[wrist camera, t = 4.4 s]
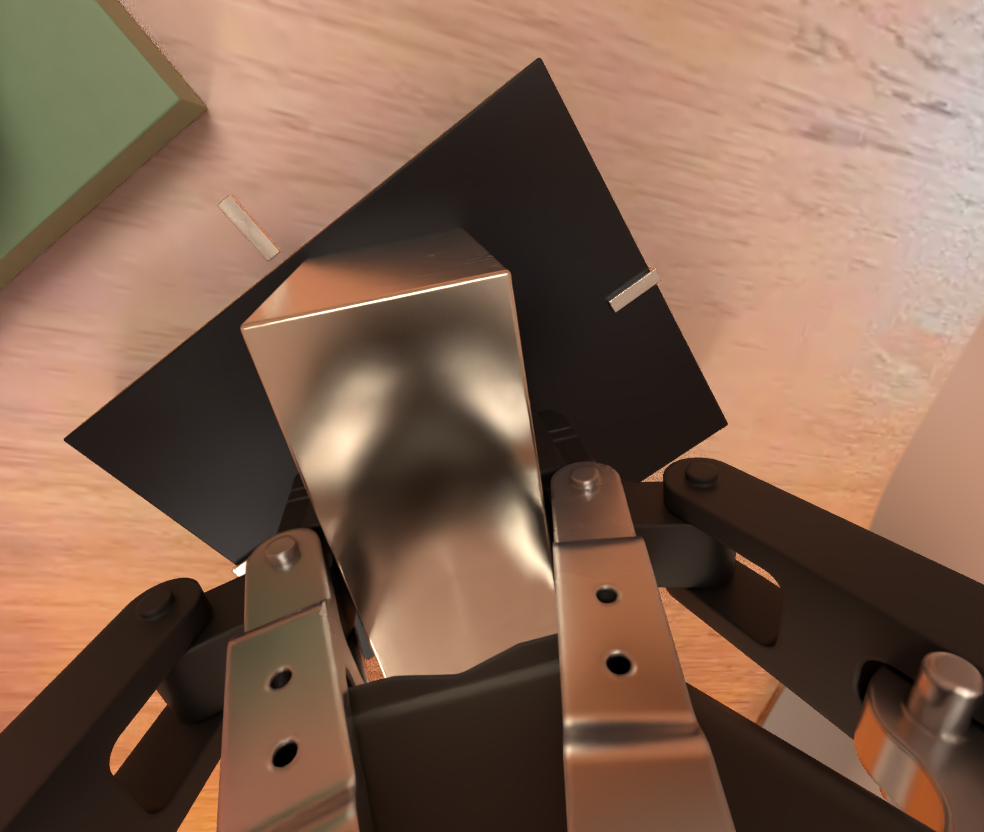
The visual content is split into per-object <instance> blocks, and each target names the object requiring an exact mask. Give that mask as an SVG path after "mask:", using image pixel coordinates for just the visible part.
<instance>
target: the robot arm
mask: <svg viewBox="0 0 984 832" xmlns="http://www.w3.org/2000/svg"><path fill="white" fill-rule="evenodd" d="M530 406H531V413H532V420H533V427H534V433H535V440H536V447H537V454H538V461H539V467H540V474H541V481H542V488H543V494H544V501H545V508H546V515H547V522H548V528H549V535H550V542H551V549H552V556H553V562H554V579H555V596H556V612H557V629H558V633H556V634H552V635H548V636H544V637H540V638H537V639H533V640H529V641H525V642H521V643H518V644H516V645H514V646H512V647H510V648H508V649H507V650H505V651H503V652H501V653H499V654H497V655H495V656H493V657H491V658H489V659H487V660H485V661H484V662H482V663H480V664H478V665H476V666H474V667H472V668H470V669H468V670H466V671H464V672H462V673H458V674H444V675H397V676H391V677H388V678H384V679H380V680H376V681H372V682H370V680H369V675H368V671H367V667H366V663H365V658H364V654H363V650H362V646H361V642H360V637H359V634H358V631H357V629H356V626H355V624H354V623H355V614H356V610H355V607H354V605H353V602H352V600H351V598H350V595H349V593H348V590H347V588H346V585H345V583H344V581H343V578H342V576H341V573H340V571H339V568H338V566H337V564H336V561H335V559H334V556H333V554H332V551H331V549H330V547H329V544H328V542H327V539H326V537H325V534H324V532H323V530H322V527H321V525H320V522H319V520H318V517H317V515H316V513H315V510H314V508H313V505H312V503H311V500H310V498H309V496H308V493H307V491H306V488H305V486H304V483H303V481H302V479H301V476H300V474H299V473H298V474H297V475H296V476H295V478H294V481H293V484H292V488H291V492H290V494H289V497H288V500H287V501H288V503H287V504H286V506H285V510H284V513H283V516H282V519H281V522H280V525H279V528H278V531H277V534H276V535H274V536H272V537H270V538H268V539H267V540H265V541H264V542H262V543H261V544H260V545H259V546H257V547H256V548H255V549H254V550H253V552H252V553H251V554H250V556H249V557H248V559H247V562H246V566H245V574H243V575H242V576H240V577H238V578H236V579H234V580H232V581H229V582H227V583H225V584H223V585H220V586H218V587H216V588H214V589H212V590H209V591H207V592H205V593H204V592H203V590H202V588H201V586H200V585H199V583H198V582H197V581H196V580H194V579H191V578H177V579H172V580H169V581H166V582H163V583H160V584H158V585H156V586H154V587H152V588H150V589H148V590H147V591H145V592H144V593H142V594H141V595H139V596H138V597H136V598H135V599H134V600H133V601H131V602H130V603H129V604H128V605H127V606H126V607H125V608H124V609H123V610H122V611H121V612H120V613H119V614H118V615H117V616H116V617H115V618H114V619H113V620H112V621H111V622H110V623H109V624H108V625H107V626H106V627H105V628H104V629H103V630H102V631H101V632H100V633H99V634H98V635H97V636H96V637H95V638H94V639H93V640H92V641H91V642H90V643H89V645H88V646H87V647H86V648H85V649H84V650H83V651H82V652H81V653H80V654H79V655H78V656H77V657H76V658H75V659H74V660H73V661H72V662H71V663H70V664H69V665H68V666H67V667H66V668H65V669H64V670H63V671H62V672H61V673H60V674H59V675H58V676H57V677H56V678H55V679H54V680H53V681H52V682H51V683H50V684H49V685H48V686H47V687H46V688H45V689H44V690H43V691H42V692H41V693H40V694H39V695H38V696H37V697H36V698H35V699H34V700H33V701H32V702H31V703H30V704H29V705H28V706H27V707H26V708H25V709H24V710H23V711H22V712H21V713H20V714H19V715H18V716H17V717H16V718H15V719H14V720H13V721H12V722H11V723H10V724H9V725H8V726H7V727H6V728H5V729H4V730H3V731H2V733H1V734H0V832H177V830H178V828H179V827H180V825H181V823H182V822H183V820H184V818H185V817H186V815H187V813H188V812H189V810H190V808H191V807H192V805H193V803H194V802H195V800H196V798H197V797H198V795H199V793H200V792H201V790H202V788H203V787H204V785H205V783H206V782H207V780H208V778H209V776H210V775H211V773H212V771H213V770H214V768H215V766H216V765H217V763H218V761H219V760H220V758H221V763H220V780H219V797H218V814H217V831H216V832H984V585H983V584H981V583H979V582H976V581H975V580H973V579H971V578H969V577H966V576H964V575H962V574H960V573H958V572H956V571H954V570H951V569H949V568H947V567H945V566H942V565H941V564H938V563H937V562H934V561H932V560H930V559H928V558H926V557H924V556H922V555H920V554H917V553H915V552H913V551H911V550H909V549H907V548H905V547H902V546H900V545H898V544H896V543H894V542H892V541H890V540H888V539H886V538H883V537H881V536H879V535H877V534H875V533H873V532H871V531H869V530H866V529H864V528H862V527H860V526H858V525H856V524H854V523H852V522H849V521H847V520H845V519H843V518H841V517H839V516H837V515H835V514H832V513H830V512H828V511H826V510H824V509H822V508H820V507H818V506H815V505H813V504H811V503H809V502H807V501H805V500H803V499H800V498H798V497H796V496H794V495H792V494H790V493H788V492H786V491H783V490H781V489H779V488H777V487H775V486H773V485H771V484H769V483H766V482H764V481H762V480H760V479H758V478H756V477H754V476H752V475H749V474H747V473H745V472H743V471H741V470H739V469H737V468H735V467H732V466H730V465H728V464H726V463H724V462H721V461H718V460H714V459H709V458H687V459H682V460H679V461H676V462H674V463H672V464H671V465H669V466H668V467H667V468H666V469H665V471H664V474H663V482H630V481H624V480H621V479H620V476H619V474H618V473H617V471H616V470H614V469H613V468H612V467H610V466H608V465H606V464H603V463H599V462H596V461H595V460H594V458H593V457H592V455H591V454H590V452H589V451H588V450H587V448H586V447H585V445H584V444H583V442H582V441H581V439H580V438H579V437H578V436H577V433H576V432H575V430H574V429H573V428H572V426H571V425H570V423H569V422H568V420H567V419H566V417H565V416H564V415H562V414H560V413H558V412H556V411H554V410H552V409H549V410H544V411H540V412H536V410H535V408H534V406H533V405H532V403H531V401H530ZM736 552H737V553H738V554H740V555H741V556H743V557H745V558H746V559H748V560H749V561H751V562H753V563H754V564H756V565H758V566H759V567H761V568H762V569H764V570H765V571H767V572H768V573H769V574H770V575H771V576H772V577H773V578H774V579H775V580H776V581H777V583H778V584H779V586H780V587H778V586H777V585H775V584H773V583H772V582H770V581H769V580H767V579H766V578H764V577H762V576H761V575H759V574H758V573H756V572H755V571H753V570H751V569H750V568H748V567H747V566H745V565H743V564H742V563H740V562H739V561H737V560H736V559H735V557H736ZM658 587H666V589H667V591H668V592H669V593H670V595H671V596H672V597H674V598H675V599H676V600H677V601H678V602H680V603H681V604H682V605H684V606H685V607H686V608H687V609H689V610H690V611H691V612H692V613H694V614H695V615H696V616H697V617H699V618H700V619H701V620H703V621H704V622H705V623H706V624H708V625H709V626H710V627H711V628H713V629H714V630H715V631H716V632H718V633H719V634H720V635H721V636H723V637H724V638H725V639H727V640H728V641H729V642H730V643H732V644H733V645H734V646H735V647H737V648H738V649H739V650H740V651H742V652H743V653H744V654H746V655H747V656H748V657H749V658H751V659H752V660H753V661H754V662H756V663H757V664H758V665H759V666H761V667H762V668H763V669H765V670H766V671H767V672H768V673H770V674H771V675H772V676H773V677H775V678H776V679H777V680H778V681H780V682H781V683H782V684H783V685H785V686H786V687H787V688H789V689H790V690H791V691H792V692H794V693H795V694H796V695H798V696H799V697H800V698H801V699H802V700H804V701H805V702H806V703H808V704H809V705H810V706H811V707H813V708H814V709H815V710H816V711H818V712H819V713H820V714H822V715H823V716H824V717H825V718H827V719H828V720H829V721H831V722H832V723H833V724H834V725H836V726H837V727H838V728H839V729H840V730H842V731H843V732H844V733H845V734H847V735H848V736H849V737H851V738H852V739H853V740H854V743H855V748H856V752H857V755H858V757H859V760H860V762H861V764H862V766H863V767H864V769H865V770H866V772H867V773H868V775H869V776H870V777H871V778H872V779H873V781H874V782H875V783H876V784H877V785H878V786H879V788H880V792H881V794H882V795H883V797H884V799H885V800H886V801H887V802H886V801H885V800H883V799H881V798H880V797H878V796H876V795H875V794H873V793H871V792H870V791H868V790H866V789H865V788H863V787H861V786H860V785H858V784H856V783H854V782H853V781H851V780H849V779H848V778H846V777H844V776H843V775H841V774H839V773H838V772H836V771H834V770H833V769H831V768H829V767H827V766H826V765H824V764H823V763H821V762H819V761H817V760H816V759H814V758H812V757H811V756H809V755H807V754H806V753H804V752H802V751H801V750H799V749H797V748H795V747H794V746H792V745H791V744H789V743H787V742H786V741H784V740H782V739H781V738H779V737H777V736H776V735H774V734H772V733H771V732H769V731H767V730H765V729H764V728H762V727H760V726H759V725H757V724H755V723H754V722H752V721H750V720H749V719H747V718H745V717H744V716H742V715H740V714H739V713H737V712H735V711H734V710H732V709H730V708H729V707H727V706H725V705H724V704H722V703H720V702H719V701H717V700H715V699H713V698H712V697H710V696H708V695H707V694H705V693H703V692H702V691H700V690H698V689H697V688H695V687H693V686H692V685H690V684H688V683H687V682H685V679H684V676H683V672H682V669H681V665H680V662H679V658H678V655H677V651H676V648H675V645H674V641H673V638H672V634H671V631H670V627H669V624H668V621H667V617H666V614H665V610H664V607H663V603H662V600H661V596H660V593H659V590H658ZM155 690H157V691H158V693H159V694H160V695H161V697H162V698H163V699H164V701H165V702H166V703H167V706H166V707H165V708H164V710H163V711H162V712H161V714H160V715H159V716H158V718H157V719H156V720H155V722H154V723H153V724H152V726H151V727H150V728H149V730H148V731H147V732H146V734H145V735H144V736H143V738H142V739H141V740H140V742H139V743H138V744H137V746H136V747H135V748H134V750H133V751H132V752H131V754H130V755H129V756H128V758H127V759H126V760H125V762H124V763H123V764H122V766H121V767H120V768H119V770H118V771H117V772H116V774H115V775H114V776H113V775H112V773H111V771H110V766H109V762H110V755H111V752H112V749H113V747H114V744H115V743H116V741H117V739H118V738H119V736H120V735H121V733H122V732H123V731H124V730H125V728H126V727H127V726H128V725H129V723H130V722H131V721H132V720H133V718H134V717H135V716H136V714H137V713H138V712H139V711H140V709H141V708H142V707H143V706H144V704H145V703H146V702H147V700H148V699H149V698H150V697H151V695H152V694H153V693H154V692H155Z"/></svg>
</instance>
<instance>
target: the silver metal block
mask: <svg viewBox="0 0 984 832" xmlns="http://www.w3.org/2000/svg"><path fill="white" fill-rule="evenodd" d="M240 330H241V333H242V335H243V338H244V340H245V343H246V345H247V347H248V350H249V352H250V355H251V357H252V360H253V362H254V364H255V367H256V369H257V372H258V374H259V377H260V379H261V381H262V384H263V386H264V389H265V391H266V394H267V396H268V398H269V401H270V403H271V406H272V408H273V411H274V413H275V415H276V418H277V420H278V423H279V425H280V428H281V430H282V432H283V435H284V437H285V440H286V442H287V445H288V447H289V449H290V452H291V454H292V457H293V459H294V462H295V464H296V466H297V469H298V471H299V474H300V476H301V479H302V481H303V483H304V486H305V488H306V491H307V493H308V496H309V498H310V500H311V503H312V505H313V508H314V510H315V513H316V515H317V517H318V520H319V522H320V525H321V527H322V530H323V532H324V534H325V537H326V539H327V542H328V544H329V547H330V549H331V551H332V554H333V556H334V559H335V561H336V564H337V566H338V568H339V571H340V573H341V576H342V578H343V581H344V583H345V585H346V588H347V590H348V593H349V595H350V598H351V600H352V602H353V605H354V607H355V610H356V612H357V615H358V617H359V619H360V622H361V624H362V627H363V629H364V632H365V634H366V636H367V639H368V641H369V644H370V646H371V649H372V651H373V653H374V656H375V658H376V661H377V663H378V666H379V668H380V671H381V673H382V675H383V678H388V677H391V676H397V675H444V674H458V673H462V672H464V671H466V670H468V669H470V668H472V667H474V666H476V665H478V664H480V663H482V662H484V661H485V660H487V659H489V658H491V657H493V656H495V655H497V654H499V653H501V652H503V651H505V650H507V649H508V648H510V647H512V646H514V645H516V644H518V643H521V642H525V641H529V640H533V639H537V638H540V637H544V636H548V635H552V634H556V633H558V629H557V612H556V596H555V579H554V562H553V556H552V549H551V542H550V535H549V528H548V522H547V515H546V508H545V501H544V494H543V488H542V481H541V474H540V467H539V461H538V454H537V447H536V440H535V433H534V427H533V420H532V413H531V406H530V399H529V393H528V386H527V379H526V372H525V366H524V359H523V352H522V345H521V338H520V332H519V325H518V318H517V311H516V305H515V298H514V291H513V284H512V277H511V273H510V271H509V270H508V269H507V268H506V267H505V266H503V265H502V264H501V263H500V262H499V261H498V260H497V259H496V258H495V257H494V256H493V255H492V254H490V253H489V252H488V251H487V250H486V249H485V248H484V247H483V246H482V245H481V244H480V243H478V242H477V241H476V240H475V239H474V238H473V237H472V236H471V235H470V234H469V233H468V232H466V231H465V230H464V229H463V228H455V229H450V230H445V231H440V232H435V233H430V234H425V235H420V236H415V237H410V238H405V239H400V240H395V241H390V242H385V243H380V244H375V245H370V246H365V247H360V248H355V249H350V250H345V251H340V252H335V253H330V254H325V255H320V256H315V257H310V258H307V259H306V260H305V261H304V262H303V263H302V264H301V265H300V266H299V267H298V268H297V269H296V270H295V271H294V272H293V273H292V274H291V275H290V276H289V277H288V278H287V279H286V280H285V281H284V282H283V283H282V284H281V285H280V286H279V287H278V288H277V289H276V290H275V291H274V293H273V294H272V295H271V296H270V297H269V298H268V299H267V300H266V301H265V302H264V303H263V304H262V305H261V306H260V307H259V308H258V309H257V310H256V311H255V312H254V313H253V314H252V315H251V316H250V317H249V318H248V319H247V320H246V321H245V322H244V323H243V324H242V325H241V328H240Z"/></svg>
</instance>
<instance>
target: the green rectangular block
mask: <svg viewBox="0 0 984 832" xmlns="http://www.w3.org/2000/svg"><path fill="white" fill-rule="evenodd" d="M206 108H207V107H206V105H205V104H204V103H203V102H202V101H201V99H200V98H199V97H198V96H197V95H196V93H195V92H194V91H193V90H192V89H191V87H190V86H189V85H188V84H187V83H186V81H185V80H184V79H183V78H182V77H181V75H180V74H179V73H178V72H177V71H176V69H175V68H174V67H173V66H172V65H171V64H170V62H169V61H168V60H167V59H166V58H165V56H164V55H163V54H162V53H161V52H160V50H159V49H158V48H157V47H156V46H155V44H154V43H153V42H152V41H151V40H150V38H149V37H148V36H147V35H146V34H145V32H144V31H143V30H142V29H141V28H140V26H139V25H138V24H137V23H136V22H135V21H134V19H133V18H132V17H131V16H130V15H129V13H128V12H127V11H126V10H125V9H124V7H123V6H122V5H121V4H120V3H119V1H118V0H0V290H1V289H2V288H3V287H4V286H5V285H6V284H7V283H9V282H10V281H11V280H12V279H13V278H14V277H15V276H17V275H18V274H19V273H20V272H21V271H22V270H23V269H25V268H26V267H27V266H28V265H29V264H30V263H31V262H33V261H34V260H35V259H36V258H37V257H38V256H39V255H41V254H42V253H43V252H44V251H45V250H46V249H47V248H48V247H50V246H51V245H52V244H53V243H54V242H55V241H56V240H58V239H59V238H60V237H61V236H62V235H63V234H64V233H66V232H67V231H68V230H69V229H70V228H71V227H72V226H74V225H75V224H76V223H77V222H78V221H79V220H80V219H82V218H83V217H84V216H85V215H86V214H87V213H88V212H90V211H91V210H92V209H93V208H94V207H95V206H96V205H98V204H99V203H100V202H101V201H102V200H103V199H104V198H106V197H107V196H108V195H109V194H110V193H111V192H112V191H114V190H115V189H116V188H117V187H118V186H119V185H120V184H122V183H123V182H124V181H125V180H126V179H127V178H128V177H130V176H131V175H132V174H133V173H134V172H135V171H136V170H138V169H139V168H140V167H141V166H142V165H143V164H144V163H146V162H147V161H148V160H149V159H150V158H151V157H152V156H154V155H155V154H156V153H157V152H158V151H159V150H160V149H162V148H163V147H164V146H165V145H166V144H167V143H168V142H170V141H171V140H172V139H173V138H174V137H175V136H176V135H178V134H179V133H180V132H181V131H182V130H183V129H184V128H186V127H187V126H188V125H189V124H190V123H191V122H192V121H194V120H195V119H196V118H197V117H198V116H199V115H200V114H202V113H203V112H204V111H205V110H206Z"/></svg>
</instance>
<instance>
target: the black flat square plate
mask: <svg viewBox="0 0 984 832" xmlns="http://www.w3.org/2000/svg"><path fill="white" fill-rule="evenodd" d="M217 206H218V207H219V208H220V209H221V210H222V211H223V213H224V214H225V215H226V216H227V217H228V218H229V219H230V220H231V221H232V222H233V224H234V225H235V226H236V227H237V228H238V229H239V230H240V231H241V232H242V233H243V235H244V236H245V237H246V238H247V239H248V240H249V241H250V242H251V243H252V244H253V246H254V247H255V248H256V249H257V250H258V251H259V252H260V253H261V254H262V255H263V257H264V258H265V259H266V260H267V261H269V260H271V259H272V258H273V257H274V256H276V255H277V254H278V253H279V252H281V250H280V248H279V247H278V246H277V245H276V244H275V243H274V242H273V240H272V239H271V238H270V237H269V236H268V235H267V234H266V233H265V231H264V230H263V229H262V228H261V227H260V226H259V225H258V224H257V222H256V221H255V220H254V219H253V218H252V217H251V216H250V214H249V213H248V212H247V211H246V210H245V209H244V208H243V207H242V205H241V204H240V203H239V202H238V201H237V200H236V199H235V198H234V196H233V195H229V196H227V197H226V198H225V199H224V200H223V201H221V202H220V203H219V204H218V205H217ZM455 228H463V229H464V230H465V231H466V232H468V233H469V234H470V235H471V236H472V237H473V238H474V239H475V240H476V241H477V242H478V243H480V244H481V245H482V246H483V247H484V248H485V249H486V250H487V251H488V252H489V253H490V254H492V255H493V256H494V257H495V258H496V259H497V260H498V261H499V262H500V263H501V264H502V265H503V266H505V267H506V268H507V269H508V270H509V271H510V273H511V277H512V284H513V291H514V298H515V305H516V311H517V318H518V325H519V332H520V338H521V345H522V352H523V359H524V366H525V372H526V379H527V386H528V393H529V399H530V401H531V403H532V405H533V406H534V408H535V410H536V412H540V411H544V410H549V409H552V410H554V411H556V412H558V413H560V414H562V415H564V416H565V417H566V419H567V420H568V422H569V423H570V425H571V426H572V428H573V429H574V430H575V432H576V433H577V436H578V437H579V438H580V439H581V441H582V442H583V444H584V445H585V447H586V448H587V450H588V451H589V452H590V454H591V455H592V457H593V458H594V460H595V461H596V462H599V463H603V464H606V465H608V466H610V467H612V468H613V469H614V470H616V471H617V473H618V474H619V476H620V479H621V480H624V481H630V482H641V481H643V480H644V479H646V478H647V477H649V476H650V475H652V474H653V473H655V472H656V471H658V470H659V469H661V468H662V467H664V466H666V465H667V464H669V463H670V462H672V461H673V460H675V459H676V458H678V457H679V456H681V455H682V454H684V453H685V452H687V451H688V450H690V449H692V448H693V447H695V446H696V445H698V444H699V443H701V442H702V441H704V440H705V439H707V438H708V437H710V436H711V435H713V434H715V433H716V432H718V431H719V430H721V429H722V428H724V427H725V426H727V425H728V423H727V421H726V419H725V417H724V415H723V413H722V411H721V409H720V407H719V405H718V403H717V401H716V399H715V397H714V395H713V393H712V391H711V389H710V387H709V385H708V383H707V382H706V380H705V378H704V376H703V374H702V372H701V370H700V368H699V366H698V364H697V362H696V360H695V358H694V356H693V354H692V352H691V350H690V348H689V346H688V344H687V342H686V340H685V339H684V337H683V335H682V333H681V331H680V329H679V327H678V325H677V323H676V321H675V319H674V317H673V315H672V313H671V311H670V309H669V307H668V305H667V303H666V301H665V299H664V298H663V296H662V294H661V292H660V290H659V288H658V286H657V283H658V282H659V281H661V277H660V275H659V274H658V272H657V270H656V268H652V269H650V270H649V268H648V266H647V264H646V262H645V260H644V258H643V256H642V255H641V253H640V251H639V249H638V247H637V245H636V243H635V241H634V239H633V237H632V235H631V233H630V231H629V229H628V227H627V225H626V223H625V221H624V219H623V217H622V215H621V214H620V212H619V210H618V208H617V206H616V204H615V202H614V200H613V198H612V196H611V194H610V192H609V190H608V188H607V186H606V184H605V182H604V180H603V178H602V176H601V174H600V172H599V171H598V169H597V167H596V165H595V163H594V161H593V159H592V157H591V155H590V153H589V151H588V149H587V147H586V145H585V143H584V141H583V139H582V137H581V135H580V133H579V131H578V130H577V128H576V126H575V124H574V122H573V120H572V118H571V116H570V114H569V112H568V110H567V108H566V106H565V104H564V102H563V100H562V98H561V96H560V94H559V92H558V90H557V88H556V87H555V85H554V83H553V81H552V79H551V77H550V75H549V73H548V71H547V69H546V67H545V65H544V63H543V61H542V59H541V58H537V59H536V60H535V61H533V62H532V63H531V64H529V65H528V66H527V67H526V68H524V69H523V70H522V71H520V72H519V73H518V74H517V75H515V76H514V77H513V78H511V79H510V80H509V81H508V82H506V83H505V84H504V85H503V86H501V87H500V88H499V89H498V90H497V91H495V92H494V93H493V94H492V95H490V96H489V97H488V98H487V99H485V100H484V101H483V102H482V103H480V104H479V105H478V106H477V107H475V108H474V109H473V110H472V111H470V112H469V113H468V114H467V115H465V116H464V117H463V118H462V119H460V120H459V121H458V122H457V123H455V124H454V125H453V126H452V127H450V128H449V129H448V130H447V131H445V132H444V133H443V134H442V135H440V136H439V137H438V138H437V139H435V140H434V141H433V142H432V143H430V144H429V145H428V146H427V147H426V148H424V149H423V150H422V151H421V152H419V153H418V154H417V155H416V156H414V157H413V158H412V159H411V160H409V161H408V162H407V163H406V164H404V165H403V166H402V167H401V168H399V169H398V170H397V171H396V172H394V173H393V174H392V175H391V176H389V177H388V178H387V179H386V180H384V181H383V182H382V183H381V184H379V185H378V186H377V187H376V188H374V189H373V190H372V191H371V192H369V193H368V194H367V195H366V196H364V197H363V198H362V199H361V200H359V201H358V202H357V203H356V204H355V205H353V206H352V207H351V208H350V209H348V210H347V211H346V212H345V213H343V214H342V215H341V216H340V217H338V218H337V219H336V220H335V221H333V222H332V223H331V224H330V225H328V226H327V227H326V228H325V229H323V230H322V231H321V232H320V233H318V234H317V235H316V236H315V237H313V238H312V239H311V240H310V241H308V242H307V243H306V244H305V245H303V246H302V247H301V248H300V249H298V250H297V251H296V252H295V253H293V254H292V255H291V256H290V257H289V258H287V259H286V260H285V261H284V262H282V263H281V264H280V265H279V266H277V267H276V268H275V269H274V270H272V271H271V272H270V273H269V274H267V275H266V276H265V277H264V278H262V279H261V280H260V281H259V282H257V283H256V284H255V285H254V286H252V287H251V288H250V289H249V290H247V291H246V292H245V293H244V294H242V295H241V296H240V297H239V298H237V299H236V300H235V301H234V302H232V303H231V304H230V305H229V306H227V307H226V308H225V309H224V310H222V311H221V312H220V313H219V314H218V315H216V316H215V317H214V318H213V319H211V320H210V321H209V322H208V323H206V324H205V325H204V326H203V327H201V328H200V329H199V330H198V331H196V332H195V333H194V334H193V335H191V336H190V337H189V338H188V339H186V340H185V341H184V342H183V343H181V344H180V345H179V346H178V347H176V348H175V349H174V350H173V351H171V352H170V353H169V354H168V355H166V356H165V357H164V358H163V359H161V360H160V361H159V362H158V363H156V364H155V365H154V366H153V367H151V368H150V369H149V370H148V371H147V372H145V373H144V374H143V375H142V376H140V377H139V378H138V379H137V380H135V381H134V382H133V383H132V384H130V385H129V386H128V387H127V388H125V389H124V390H123V391H122V392H120V393H119V394H118V395H117V396H115V397H114V398H113V399H112V400H110V401H109V402H108V403H107V404H106V405H104V406H103V407H102V408H101V409H99V410H98V411H97V412H96V413H94V414H93V415H92V416H91V417H90V418H88V419H87V420H86V421H85V422H83V423H82V424H81V425H80V426H79V427H77V428H76V429H75V430H74V431H72V432H71V433H70V434H69V435H67V436H66V437H65V438H64V441H65V442H66V443H68V444H69V445H70V446H72V447H73V448H75V449H76V450H77V451H79V452H80V453H82V454H83V455H84V456H86V457H87V458H88V459H90V460H91V461H93V462H94V463H95V464H97V465H98V466H100V467H101V468H102V469H104V470H105V471H106V472H108V473H109V474H111V475H112V476H113V477H115V478H116V479H118V480H119V481H120V482H122V483H123V484H124V485H126V486H127V487H129V488H130V489H131V490H133V491H134V492H136V493H137V494H138V495H140V496H141V497H143V498H144V499H145V500H147V501H148V502H149V503H151V504H152V505H154V506H155V507H156V508H158V509H159V510H161V511H162V512H163V513H165V514H166V515H167V516H169V517H170V518H172V519H173V520H174V521H176V522H177V523H179V524H180V525H181V526H183V527H184V528H185V529H187V530H188V531H190V532H191V533H192V534H194V535H195V536H197V537H198V538H199V539H201V540H202V541H203V542H205V543H206V544H208V545H209V546H210V547H212V548H213V549H215V550H216V551H217V552H219V553H220V554H221V555H223V556H224V557H226V558H227V559H228V560H230V561H231V562H233V563H234V564H235V565H236V566H234V567H233V569H232V572H233V573H235V574H236V575H238V576H239V577H240V576H242V575H243V574H245V566H246V562H247V559H248V557H249V556H250V554H251V553H252V552H253V550H254V549H255V548H256V547H257V546H259V545H260V544H261V543H262V542H264V541H265V540H267V539H268V538H270V537H272V536H274V535H276V534H277V531H278V528H279V525H280V522H281V519H282V516H283V513H284V510H285V506H286V504H287V503H288V501H287V500H288V497H289V494H290V492H291V488H292V484H293V481H294V478H295V476H296V475H297V474H298V473H299V471H298V469H297V466H296V464H295V462H294V459H293V457H292V454H291V452H290V449H289V447H288V445H287V442H286V440H285V437H284V435H283V432H282V430H281V428H280V425H279V423H278V420H277V418H276V415H275V413H274V411H273V408H272V406H271V403H270V401H269V398H268V396H267V394H266V391H265V389H264V386H263V384H262V381H261V379H260V377H259V374H258V372H257V369H256V367H255V364H254V362H253V360H252V357H251V355H250V352H249V350H248V347H247V345H246V343H245V340H244V338H243V335H242V333H241V330H240V328H241V325H242V324H243V323H244V322H245V321H246V320H247V319H248V318H249V317H250V316H251V315H252V314H253V313H254V312H255V311H256V310H257V309H258V308H259V307H260V306H261V305H262V304H263V303H264V302H265V301H266V300H267V299H268V298H269V297H270V296H271V295H272V294H273V293H274V291H275V290H276V289H277V288H278V287H279V286H280V285H281V284H282V283H283V282H284V281H285V280H286V279H287V278H288V277H289V276H290V275H291V274H292V273H293V272H294V271H295V270H296V269H297V268H298V267H299V266H300V265H301V264H302V263H303V262H304V261H305V260H306V259H307V258H310V257H315V256H320V255H325V254H330V253H335V252H340V251H345V250H350V249H355V248H360V247H365V246H370V245H375V244H380V243H385V242H390V241H395V240H400V239H405V238H410V237H415V236H420V235H425V234H430V233H435V232H440V231H445V230H450V229H455ZM354 624H355V626H356V629H357V631H358V634H359V637H360V642H361V646H362V650H363V654H364V658H366V659H367V660H369V659H370V658H372V657H373V656H374V653H373V651H372V649H371V646H370V644H369V641H368V639H367V636H366V634H365V632H364V629H363V627H362V624H361V622H360V619H359V617H358V615H357V612H356V614H355V623H354Z"/></svg>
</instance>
